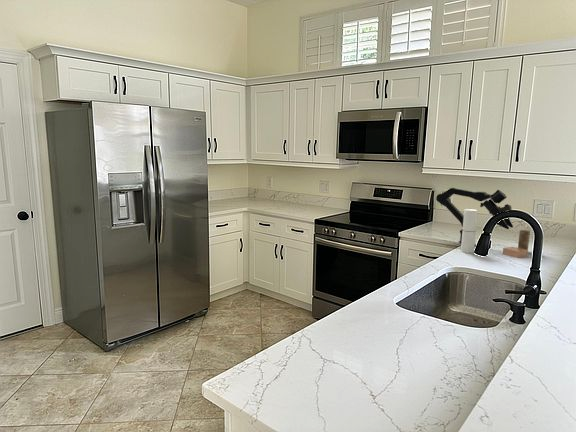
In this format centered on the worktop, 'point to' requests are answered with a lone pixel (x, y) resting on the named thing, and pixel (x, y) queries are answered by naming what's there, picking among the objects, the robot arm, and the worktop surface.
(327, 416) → the worktop surface
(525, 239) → the walnut block
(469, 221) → the cylindrical container
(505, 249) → the terracotta riser
